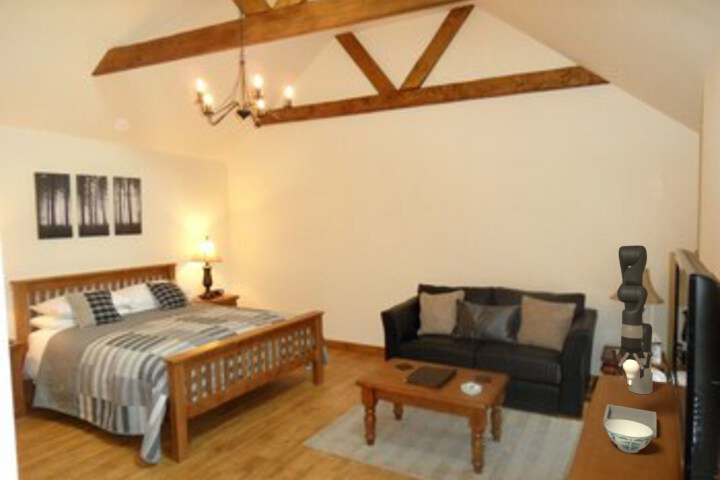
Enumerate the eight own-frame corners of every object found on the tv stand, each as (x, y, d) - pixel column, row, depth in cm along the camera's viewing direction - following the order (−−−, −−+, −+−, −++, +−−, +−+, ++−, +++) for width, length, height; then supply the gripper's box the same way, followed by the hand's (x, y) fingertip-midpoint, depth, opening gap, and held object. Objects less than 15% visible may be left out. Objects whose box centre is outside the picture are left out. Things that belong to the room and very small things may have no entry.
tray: (607, 413, 211) (607, 404, 210) (656, 421, 201) (656, 412, 201) (603, 428, 195) (603, 418, 195) (656, 438, 186) (656, 428, 186)
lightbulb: (622, 386, 196) (623, 359, 196) (620, 381, 202) (621, 355, 202) (640, 388, 194) (641, 361, 193) (638, 383, 200) (639, 357, 199)
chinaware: (599, 449, 178) (599, 428, 178) (613, 435, 189) (613, 416, 188) (645, 463, 168) (645, 440, 167) (657, 448, 178) (657, 427, 178)
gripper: (652, 335, 197) (651, 376, 197) (612, 331, 204) (611, 371, 204) (652, 339, 190) (651, 382, 191) (610, 335, 197) (610, 376, 198)
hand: (630, 376), depth 198 cm, fingers closed on lightbulb, 6 cm apart
